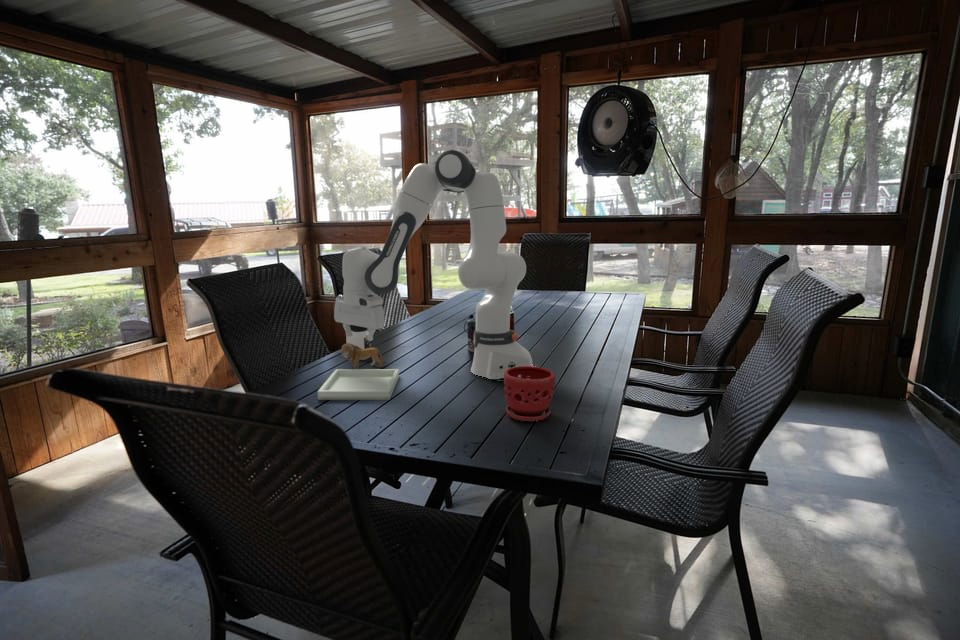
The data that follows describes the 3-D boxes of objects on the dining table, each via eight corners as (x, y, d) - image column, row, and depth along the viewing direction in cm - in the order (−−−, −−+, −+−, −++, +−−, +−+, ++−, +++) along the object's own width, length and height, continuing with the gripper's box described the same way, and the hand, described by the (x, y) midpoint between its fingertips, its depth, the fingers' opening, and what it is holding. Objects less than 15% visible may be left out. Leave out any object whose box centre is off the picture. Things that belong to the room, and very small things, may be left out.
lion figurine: (343, 372, 169) (342, 345, 167) (341, 367, 174) (339, 342, 172) (388, 367, 175) (387, 341, 173) (384, 362, 179) (383, 337, 177)
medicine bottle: (365, 356, 187) (363, 324, 184) (346, 355, 188) (345, 323, 185) (373, 350, 194) (371, 319, 191) (355, 349, 195) (353, 318, 192)
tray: (399, 376, 165) (398, 369, 164) (389, 399, 145) (389, 391, 145) (336, 376, 164) (335, 369, 164) (318, 399, 145) (317, 391, 144)
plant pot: (561, 422, 131) (563, 377, 128) (513, 428, 127) (514, 382, 125) (541, 403, 143) (542, 362, 141) (496, 408, 140) (497, 366, 137)
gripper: (328, 295, 171) (330, 335, 174) (372, 302, 160) (374, 345, 163) (343, 292, 176) (345, 331, 179) (387, 299, 165) (388, 341, 168)
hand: (359, 338), depth 171 cm, fingers open, 8 cm apart
